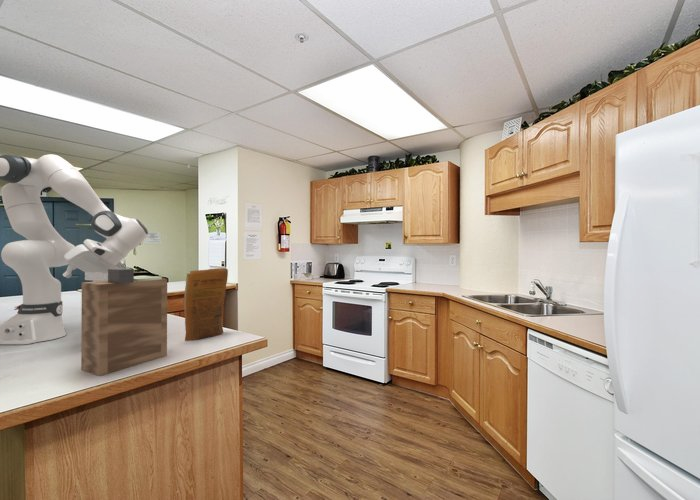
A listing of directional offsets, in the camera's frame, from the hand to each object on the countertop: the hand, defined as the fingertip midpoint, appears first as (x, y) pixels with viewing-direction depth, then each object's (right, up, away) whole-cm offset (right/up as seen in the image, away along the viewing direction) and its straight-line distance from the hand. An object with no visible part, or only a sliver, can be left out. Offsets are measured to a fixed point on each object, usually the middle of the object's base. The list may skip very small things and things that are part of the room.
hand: (76, 282), depth 118 cm
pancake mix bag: (+41, -24, +15) cm, 50 cm away
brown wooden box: (+29, -24, -15) cm, 40 cm away
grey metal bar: (+24, +2, -17) cm, 29 cm away
